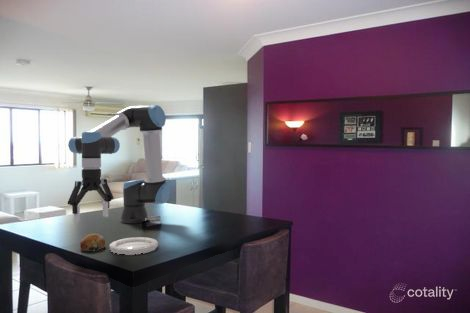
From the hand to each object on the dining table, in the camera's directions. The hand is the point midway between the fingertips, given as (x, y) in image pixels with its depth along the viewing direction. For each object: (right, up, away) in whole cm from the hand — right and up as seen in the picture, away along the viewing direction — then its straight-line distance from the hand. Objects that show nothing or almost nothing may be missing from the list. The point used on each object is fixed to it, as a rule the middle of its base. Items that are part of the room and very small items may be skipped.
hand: (91, 219), depth 153 cm
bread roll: (0, -13, +1) cm, 13 cm away
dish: (+17, -12, +1) cm, 21 cm away
